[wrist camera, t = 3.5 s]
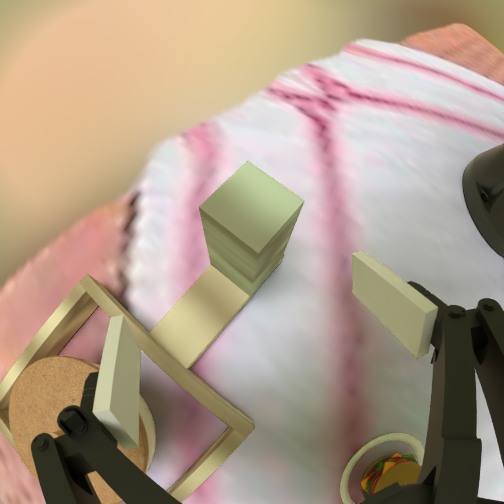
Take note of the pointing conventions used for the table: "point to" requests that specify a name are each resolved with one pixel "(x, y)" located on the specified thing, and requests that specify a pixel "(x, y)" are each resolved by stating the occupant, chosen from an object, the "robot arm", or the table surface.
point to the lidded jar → (54, 401)
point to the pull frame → (191, 305)
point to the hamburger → (385, 467)
